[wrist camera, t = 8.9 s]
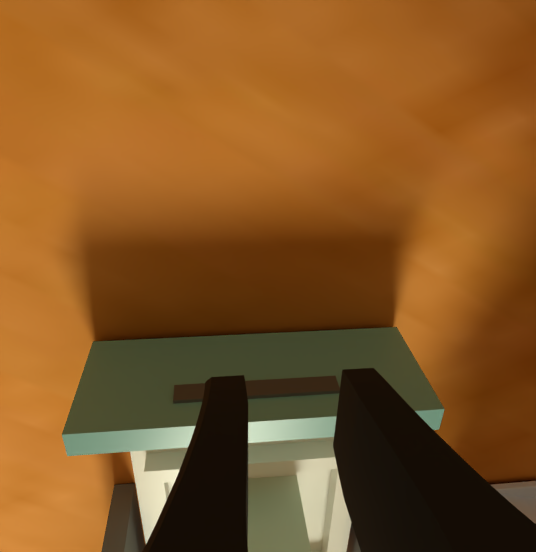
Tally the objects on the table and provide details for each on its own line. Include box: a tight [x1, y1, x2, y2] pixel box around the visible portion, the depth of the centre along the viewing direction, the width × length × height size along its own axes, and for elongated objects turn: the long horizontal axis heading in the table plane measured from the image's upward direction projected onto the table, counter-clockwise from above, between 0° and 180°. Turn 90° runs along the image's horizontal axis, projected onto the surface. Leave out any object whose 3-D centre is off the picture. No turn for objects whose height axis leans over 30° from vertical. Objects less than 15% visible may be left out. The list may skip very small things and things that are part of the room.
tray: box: [62, 327, 444, 552], centre depth 22 cm, size 13×16×5 cm
